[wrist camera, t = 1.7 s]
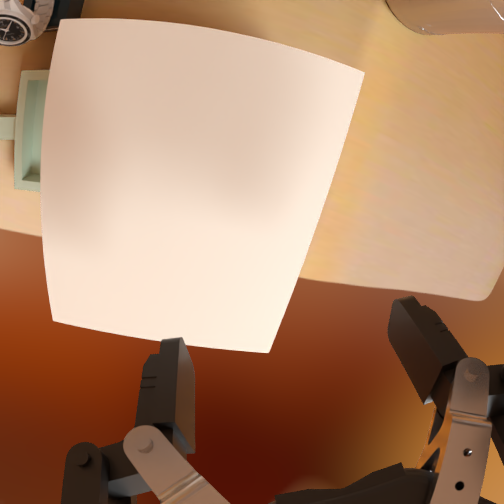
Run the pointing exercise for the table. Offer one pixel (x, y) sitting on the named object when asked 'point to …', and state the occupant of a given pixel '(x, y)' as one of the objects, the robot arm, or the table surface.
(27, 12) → the watch
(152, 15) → the table surface
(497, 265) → the table surface
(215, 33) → the white side table
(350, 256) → the table surface
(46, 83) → the tray
